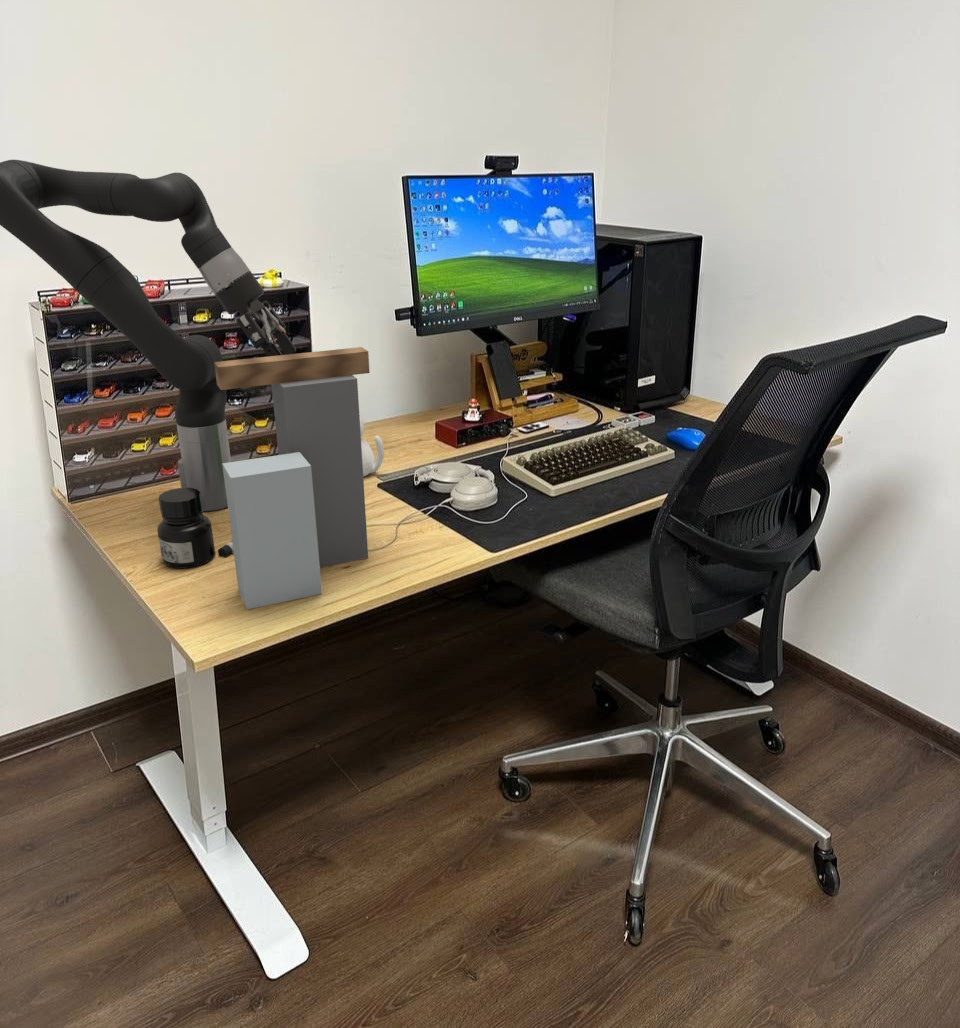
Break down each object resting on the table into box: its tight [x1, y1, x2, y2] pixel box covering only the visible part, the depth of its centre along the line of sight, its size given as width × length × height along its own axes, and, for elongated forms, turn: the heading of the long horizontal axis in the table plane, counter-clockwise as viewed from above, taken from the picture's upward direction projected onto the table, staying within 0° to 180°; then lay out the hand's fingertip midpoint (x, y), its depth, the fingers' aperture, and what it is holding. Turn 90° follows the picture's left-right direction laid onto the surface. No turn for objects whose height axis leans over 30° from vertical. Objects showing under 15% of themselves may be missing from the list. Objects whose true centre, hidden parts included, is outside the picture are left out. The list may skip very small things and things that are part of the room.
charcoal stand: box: [270, 375, 369, 568], centre depth 151 cm, size 12×9×32 cm
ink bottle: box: [157, 487, 216, 569], centre depth 153 cm, size 10×9×12 cm
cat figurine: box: [359, 414, 385, 478], centre depth 191 cm, size 9×12×15 cm
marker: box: [217, 540, 234, 558], centre depth 162 cm, size 15×2×2 cm, turn 155°
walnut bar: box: [214, 346, 370, 391], centre depth 142 cm, size 24×4×4 cm, turn 115°
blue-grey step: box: [222, 452, 323, 610], centre depth 140 cm, size 12×7×22 cm, turn 115°
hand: (286, 358), depth 161 cm, fingers open, 8 cm apart
